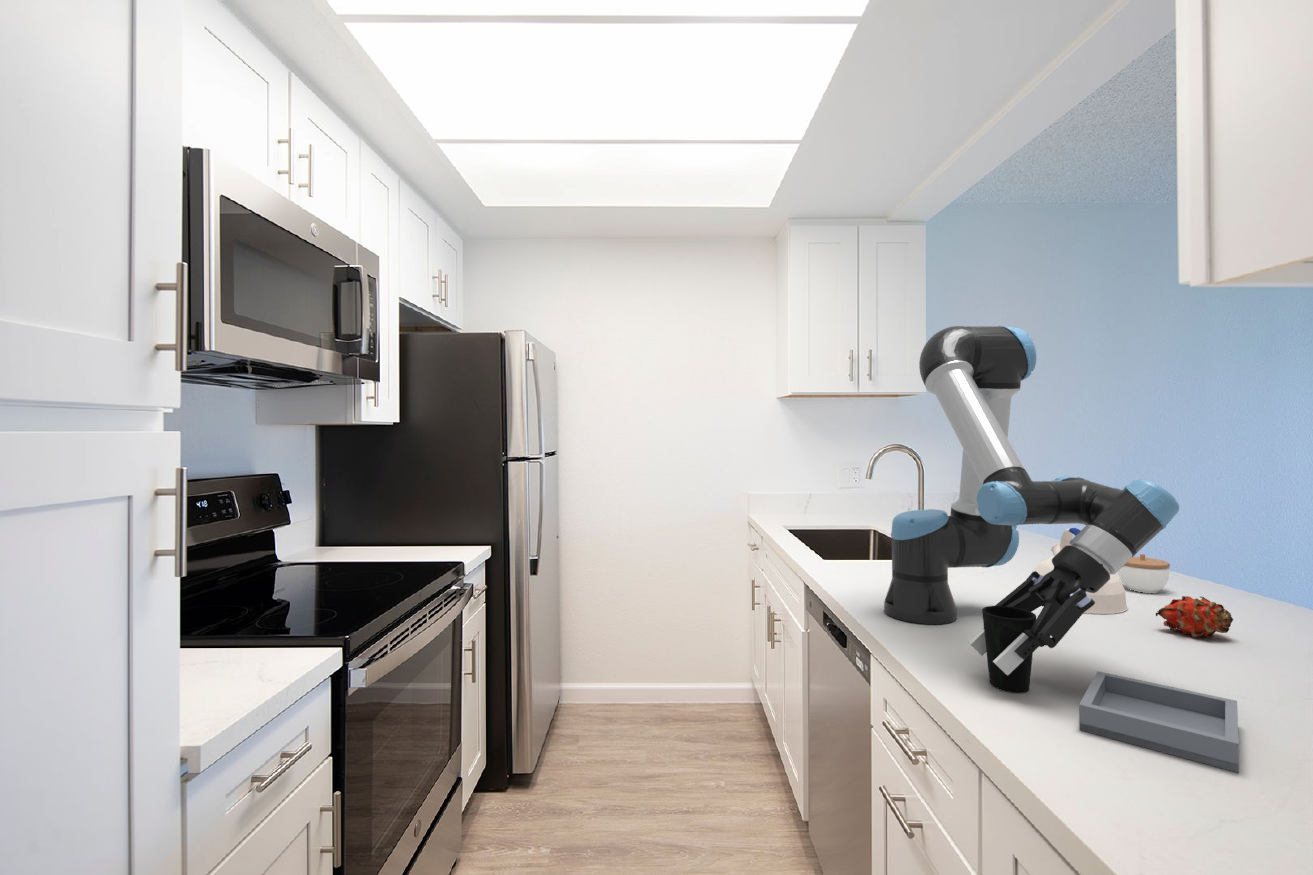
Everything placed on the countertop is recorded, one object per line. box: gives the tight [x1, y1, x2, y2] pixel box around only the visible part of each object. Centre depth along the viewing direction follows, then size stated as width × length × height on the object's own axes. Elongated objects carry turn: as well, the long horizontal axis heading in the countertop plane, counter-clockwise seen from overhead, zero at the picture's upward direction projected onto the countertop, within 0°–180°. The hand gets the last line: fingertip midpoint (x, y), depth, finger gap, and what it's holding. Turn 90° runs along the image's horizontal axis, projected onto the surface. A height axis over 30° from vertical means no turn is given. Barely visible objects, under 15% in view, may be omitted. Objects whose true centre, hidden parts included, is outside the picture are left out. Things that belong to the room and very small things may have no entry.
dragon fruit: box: [1155, 595, 1234, 639], centre depth 123 cm, size 8×8×12 cm
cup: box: [981, 605, 1037, 694], centre depth 99 cm, size 8×8×12 cm
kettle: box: [1032, 527, 1129, 615], centre depth 147 cm, size 20×21×18 cm
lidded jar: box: [1117, 553, 1171, 594], centre depth 158 cm, size 11×11×9 cm
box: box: [1078, 670, 1240, 773], centre depth 85 cm, size 16×16×4 cm
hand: (987, 658), depth 100 cm, fingers closed on cup, 8 cm apart
